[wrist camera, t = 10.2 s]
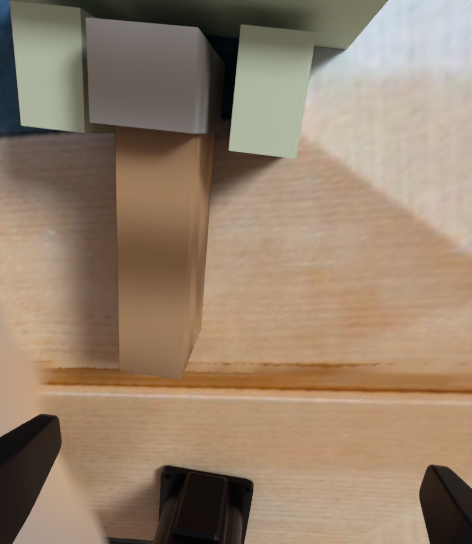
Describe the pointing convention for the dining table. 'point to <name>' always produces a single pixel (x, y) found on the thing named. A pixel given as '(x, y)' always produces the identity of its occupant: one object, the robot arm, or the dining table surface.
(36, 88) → the pale green slab
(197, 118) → the hammer
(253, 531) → the dining table surface
